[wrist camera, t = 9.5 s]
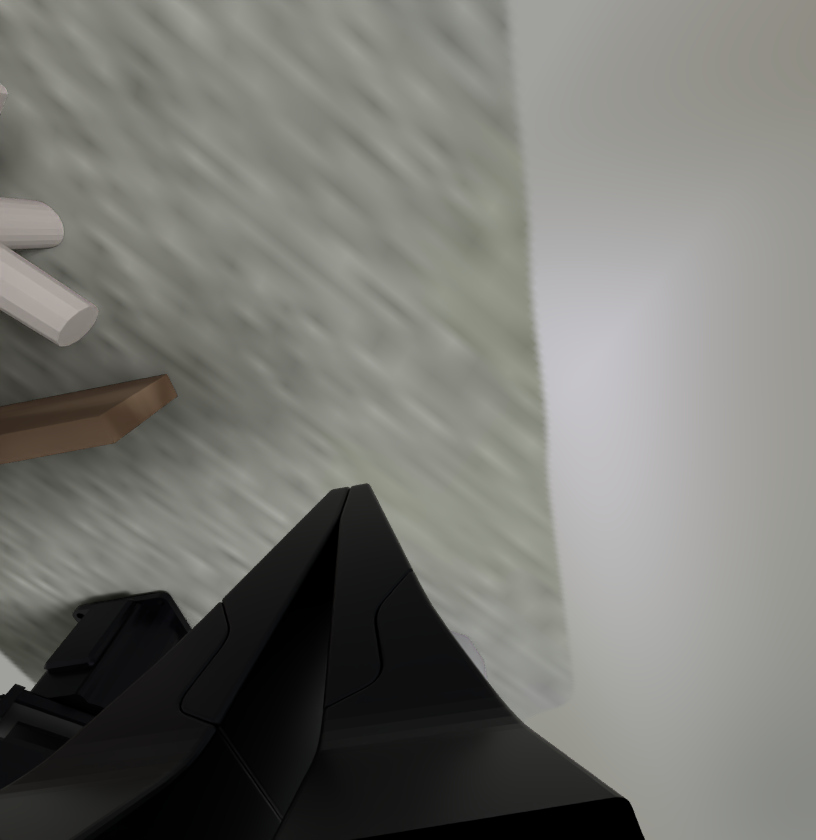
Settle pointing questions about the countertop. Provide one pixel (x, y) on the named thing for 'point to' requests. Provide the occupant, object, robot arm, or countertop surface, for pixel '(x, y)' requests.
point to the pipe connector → (37, 272)
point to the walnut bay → (79, 418)
